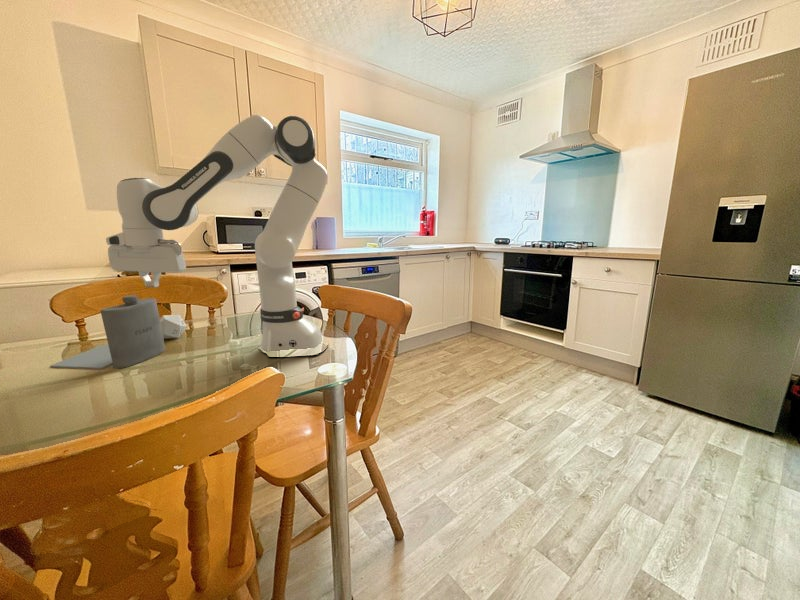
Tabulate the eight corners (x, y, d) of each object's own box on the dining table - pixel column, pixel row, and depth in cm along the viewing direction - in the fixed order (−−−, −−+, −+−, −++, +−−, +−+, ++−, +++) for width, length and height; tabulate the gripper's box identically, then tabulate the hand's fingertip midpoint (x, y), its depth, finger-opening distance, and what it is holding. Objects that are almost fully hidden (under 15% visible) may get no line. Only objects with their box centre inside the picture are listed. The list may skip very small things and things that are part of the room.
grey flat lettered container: (124, 369, 92) (109, 303, 87) (109, 367, 94) (93, 301, 89) (171, 349, 106) (160, 291, 101) (157, 348, 108) (146, 290, 103)
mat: (147, 347, 108) (147, 346, 108) (102, 369, 93) (102, 367, 92) (102, 345, 109) (102, 344, 109) (50, 367, 93) (50, 365, 93)
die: (168, 345, 112) (184, 319, 114) (143, 332, 111) (161, 307, 113) (179, 344, 120) (195, 321, 122) (157, 333, 119) (173, 309, 121)
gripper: (187, 239, 93) (193, 285, 96) (120, 237, 94) (129, 283, 97) (171, 240, 87) (178, 290, 90) (99, 238, 88) (109, 287, 91)
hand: (152, 286), depth 94 cm, fingers closed
